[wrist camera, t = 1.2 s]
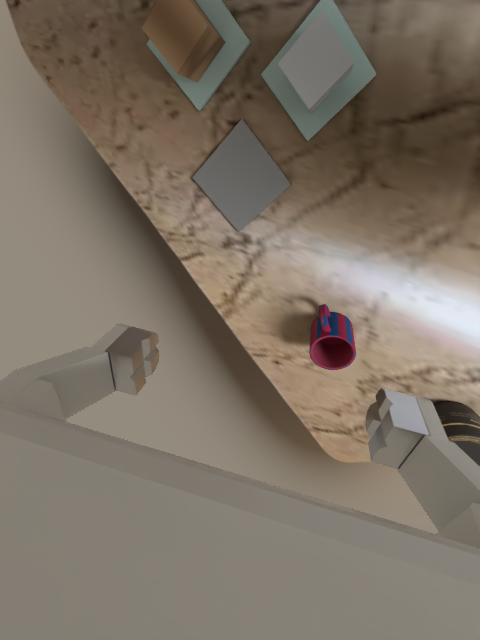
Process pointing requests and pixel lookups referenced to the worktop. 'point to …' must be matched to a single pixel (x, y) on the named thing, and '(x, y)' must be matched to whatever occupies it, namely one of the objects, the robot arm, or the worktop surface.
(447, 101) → the worktop surface
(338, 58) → the blue-grey block
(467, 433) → the jar
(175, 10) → the walnut block
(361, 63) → the code tile
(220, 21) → the code tile
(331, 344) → the mug
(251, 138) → the slate coaster
